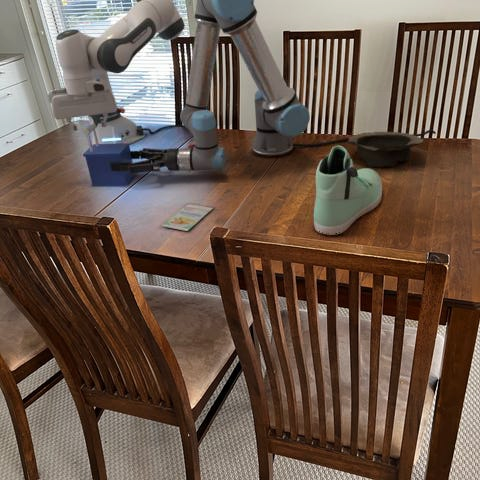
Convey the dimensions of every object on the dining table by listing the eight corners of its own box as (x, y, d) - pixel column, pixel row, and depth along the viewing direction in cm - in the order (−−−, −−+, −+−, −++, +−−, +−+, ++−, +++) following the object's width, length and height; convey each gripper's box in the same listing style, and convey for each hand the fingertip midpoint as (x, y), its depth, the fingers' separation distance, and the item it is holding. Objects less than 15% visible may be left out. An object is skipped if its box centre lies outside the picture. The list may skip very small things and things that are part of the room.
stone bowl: (380, 178, 154) (381, 150, 149) (333, 160, 174) (332, 135, 170) (437, 159, 162) (439, 132, 158) (385, 144, 183) (386, 120, 178)
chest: (92, 186, 166) (85, 156, 160) (102, 174, 174) (95, 146, 168) (126, 185, 164) (120, 156, 158) (135, 174, 172) (129, 145, 166)
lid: (83, 156, 160) (76, 130, 155) (94, 146, 168) (88, 121, 163) (120, 155, 158) (114, 129, 154) (129, 145, 166) (124, 120, 162)
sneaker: (389, 187, 148) (396, 123, 138) (356, 242, 123) (361, 168, 112) (346, 181, 154) (350, 119, 144) (306, 232, 129) (307, 161, 118)
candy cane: (169, 157, 184) (168, 153, 183) (194, 144, 194) (193, 140, 193) (180, 159, 181) (180, 155, 180) (205, 146, 191) (205, 142, 190)
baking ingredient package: (160, 225, 137) (188, 203, 148) (161, 226, 137) (188, 204, 148) (187, 230, 133) (213, 207, 145) (187, 231, 133) (213, 208, 145)
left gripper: (45, 92, 148) (56, 135, 155) (112, 84, 151) (120, 127, 159) (47, 87, 153) (58, 129, 161) (112, 80, 157) (120, 121, 164)
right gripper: (173, 183, 154) (107, 184, 157) (187, 157, 173) (128, 158, 176) (170, 161, 150) (102, 163, 153) (185, 137, 169) (124, 139, 172)
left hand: (90, 128), depth 160 cm, fingers open, 8 cm apart
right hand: (116, 160), depth 165 cm, fingers closed on chest, 9 cm apart
